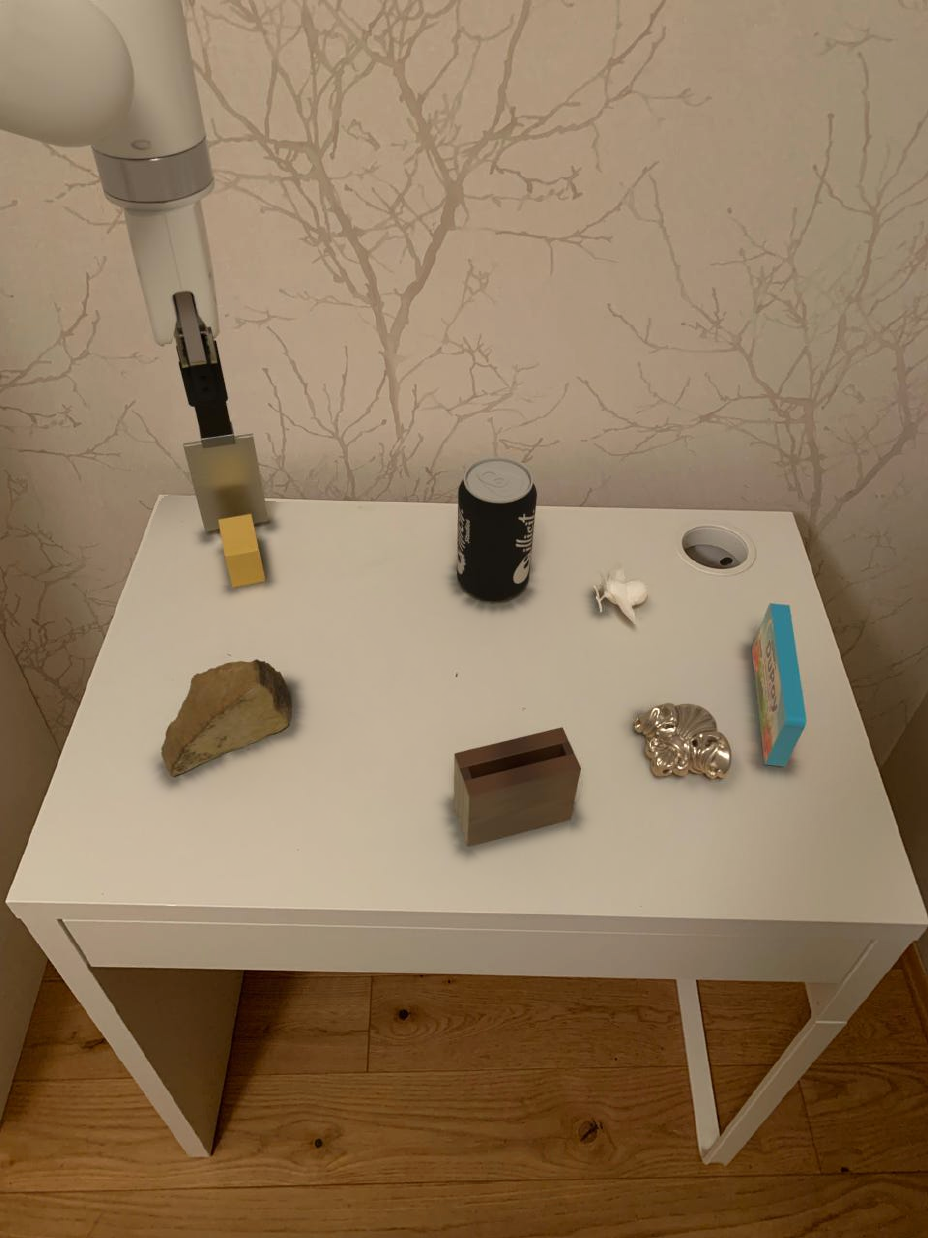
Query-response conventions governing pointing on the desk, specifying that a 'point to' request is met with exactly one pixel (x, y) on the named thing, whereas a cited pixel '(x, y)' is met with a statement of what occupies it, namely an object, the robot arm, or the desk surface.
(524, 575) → the beverage can
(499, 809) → the knife block
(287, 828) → the desk surface
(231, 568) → the butter block
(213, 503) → the knife
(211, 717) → the rock
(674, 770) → the ornament
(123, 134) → the robot arm
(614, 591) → the toy bird
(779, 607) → the blue product box
